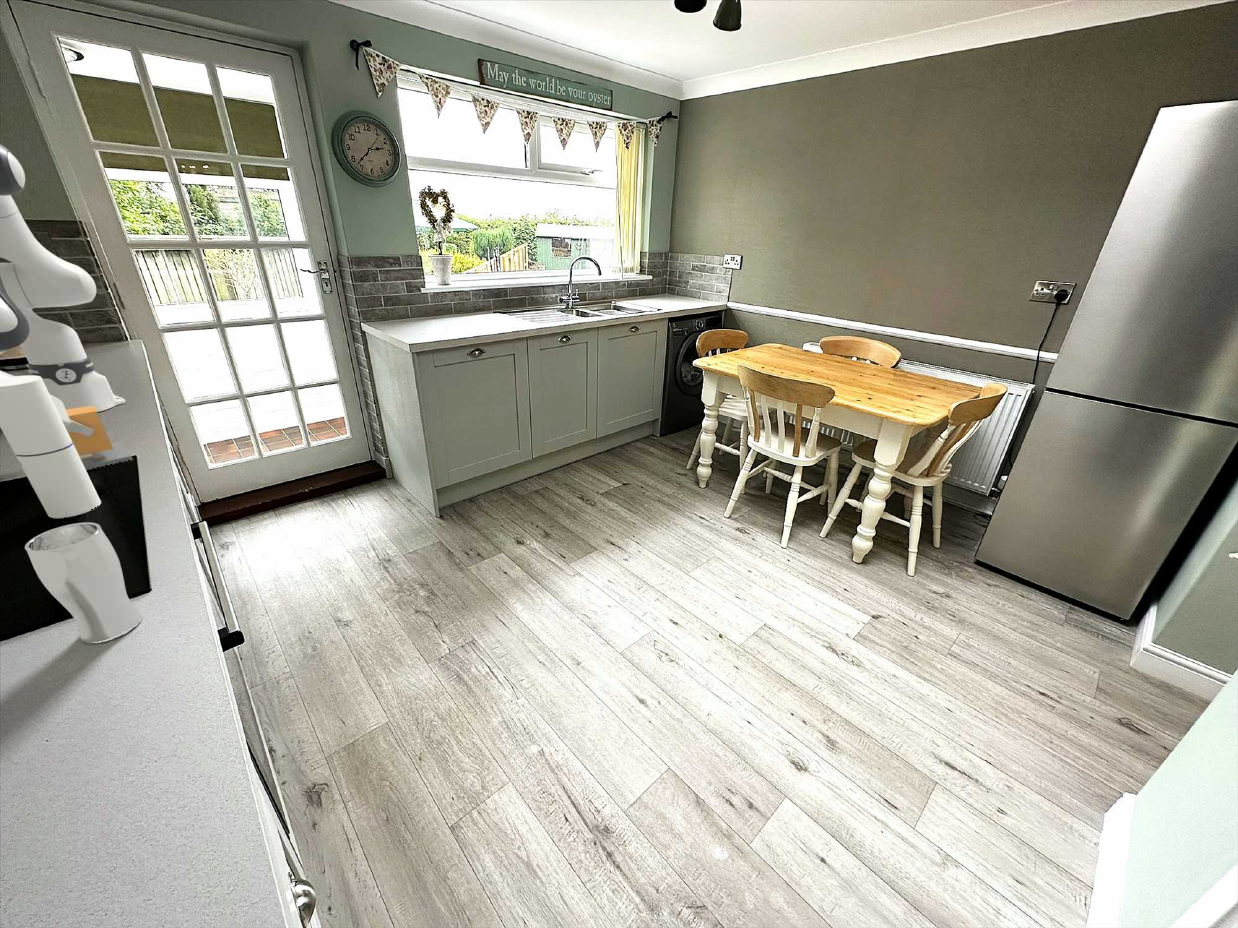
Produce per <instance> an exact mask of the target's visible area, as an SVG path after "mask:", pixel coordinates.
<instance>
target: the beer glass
mask: <svg viewBox="0 0 1238 928" xmlns="http://www.w3.org/2000/svg"><path fill="white" fill-rule="evenodd" d="M24 549H25V550H26V553H27V555H28V558H29V559H30V562H31V564H32V566H33V569H34V571H35V573H36V575H37V577H38V578H39V580H40V582H41V583H42V585H44V587H45V588H46V590H48V592H49V593H50V594H51V595H52V596H53V597H54V598H55V599H56V600H57V601H58V602H59V603H60V604H61V605H62V606H63V607H64V608H65V609H66V610H67V611H68V612H69V614H71V616H72V617H73V619H74V620H75V623H76V625H77V629H78V632H79V637H80V640H81V641H82V643H84V642H87V643H93V642H99V641H103V640H106V639H109V638H111V637H114V636H117V635H119V634H121V633H122V632H124V631H127V630H128V629H130V628H133V627H134V626H135V625H136V624H138V623H139V621H140V620H141V618H142V619H143V615H142V612H140V611H139V610H138V609H137V607H136V606H135V605H134V604H133V603H132V602H131V600H130V598H129V596H128V594H127V590H126V585H125V579H124V575H123V570H122V566H121V562H120V559H119V556H118V554H117V552H116V549H115V548H114V547H113V545H112V543H111V541H110V540H109V538H108V536H106V534H105V532H104V530H103V529H102V527H101V525H100V524H99V523H95V522H78V523H70V524H65V525H61V526H59V527H55V528H52V529H49V530H47V531H44V532H42V533H40V534H38V535H36V536H34V537H33V538H31V539H30V540H29V541H28V542H27V543H26V544H25V545H24ZM141 621H142V620H141ZM87 643H86V644H87Z"/></svg>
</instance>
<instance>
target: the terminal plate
mask: <svg viewBox="0 0 1238 928" xmlns="http://www.w3.org/2000/svg"><path fill="white" fill-rule="evenodd" d="M111 445H112V447H113V449H111V450H106V451H102V452H103V454H104V457H102V458H98V459H94V458H93V457H92V454H87V455H82V456H79V457H80V459H81V461H82V463H83V465H84V467H85V469H86V471H89V470H93V468H94V469H98V468H97V467H99V468H103V467H106V466H105V465H108V466H111V465H110V464H112V465H116V463H117V464H120V463H119V462H121V463H125V461H126V462H129V461H128V460H130V461H133V460H134V459H133V456H132V454H131V453H130V452H129V449H128V448H127V446H126V445H125V442H124V441H117V442H113V443H112V442H111ZM77 453H78V452H77ZM78 455H79V454H78ZM102 466H103V467H102Z"/></svg>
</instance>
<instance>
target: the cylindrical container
mask: <svg viewBox="0 0 1238 928" xmlns="http://www.w3.org/2000/svg"><path fill="white" fill-rule="evenodd" d="M0 429H1V431H2V432H3V435H4V436H5V439H6V441H7V443H9V446H10V448H11V449H12V451H13V453H14V455H15V457H16V458H17V460H18V462H19V464H20V466H21V468H22V470H23V472H24V473H25V475H26V477H27V479H28V481H29V483H30V485H31V486H32V488H33V490H34V492H35V494H36V495H37V497H38V500H39V501H40V503H41V505H42V507H43V509H44V510H45V512H46V514H47V516H48V517H49V518H52V519H64V518H65V517H66V518H70V517H75V516H79V515H83V514H86V513H88V512H90V511H92V510H91V509H93V510H95V509H96V508H98V507H100V505H101V504H102V501H101V498H100V497H99V495H98V494H99V493H97V490H96V489H95V487H94V484H93V482H92V480H91V479H90V476H89V473H88V472H87V470H86V469H85V467H84V465H83V463H82V461H81V459H80V457H79V455H78V453H77V450H76V448H75V445H74V443H73V441H72V439H71V437H70V435H69V433H68V431H67V430H66V428H65V426H64V424H63V422H62V419H61V417H60V415H59V413H58V411H57V409H56V407H55V405H54V403H53V401H52V399H51V397H50V394H49V392H48V390H47V388H46V386H45V384H44V382H43V380H42V378H41V377H40V376H32V374H31V375H29V374H28V375H14V376H13V377H5V378H0ZM97 506H98V507H97ZM95 507H96V508H95ZM94 508H95V509H94Z"/></svg>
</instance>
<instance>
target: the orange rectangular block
mask: <svg viewBox="0 0 1238 928" xmlns="http://www.w3.org/2000/svg"><path fill="white" fill-rule="evenodd" d="M66 411H67V414H68V416H69V418H70V420H72V421H75V422H76V423H79V424H82V425H86V426H89V427H92V428H93V429H94V432H93V433H92V435H91V436H86V435H83V434H80V433H75V432H70V431H67V432H68V434H69V436H70V438H71V440H72V443H73V445H74V447H75V449H76V451H77V452H78V454H79V456H82V455H87V454H92V453H97V452H101V451H106V450H111V449H113V447H112V445H111V444H112V442H111V441H110V439H109V436H108V435H107V432H106V429H105V426H103V423H102V421H101V419H100V416H99V413H98V412H97V411H96V410H95V408H94V406H87V407H81V408H74V409H68V410H66Z"/></svg>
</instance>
